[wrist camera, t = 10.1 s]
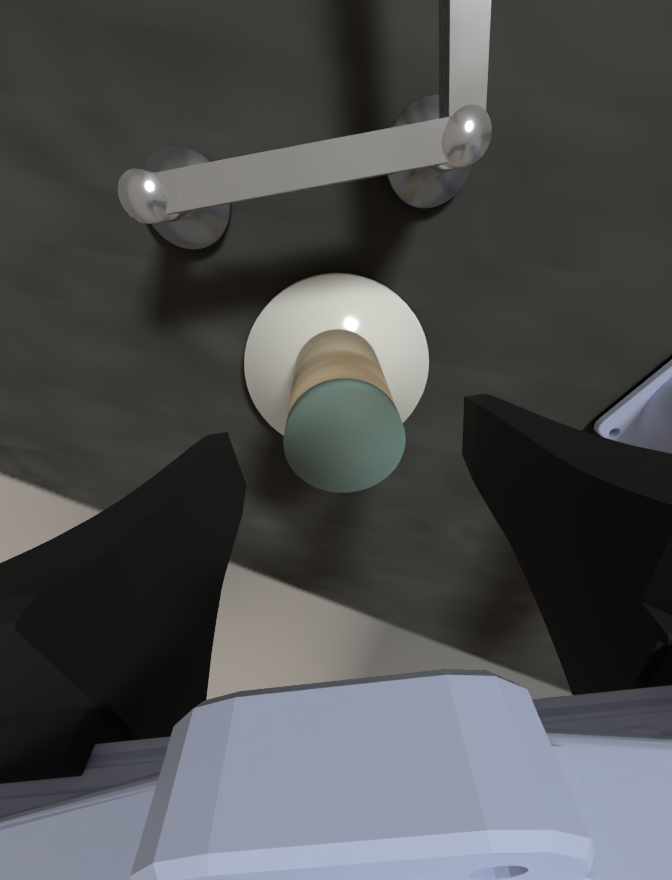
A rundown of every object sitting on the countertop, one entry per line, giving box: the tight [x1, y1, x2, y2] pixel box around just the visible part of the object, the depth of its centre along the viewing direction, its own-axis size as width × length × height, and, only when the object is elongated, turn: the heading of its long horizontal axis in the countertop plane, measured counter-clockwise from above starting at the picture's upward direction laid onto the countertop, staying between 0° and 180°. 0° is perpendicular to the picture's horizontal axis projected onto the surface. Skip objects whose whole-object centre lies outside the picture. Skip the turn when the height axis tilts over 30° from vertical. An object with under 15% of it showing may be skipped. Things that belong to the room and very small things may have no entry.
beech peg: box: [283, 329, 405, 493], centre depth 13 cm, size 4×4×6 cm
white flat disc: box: [244, 272, 429, 435], centre depth 16 cm, size 8×8×1 cm
